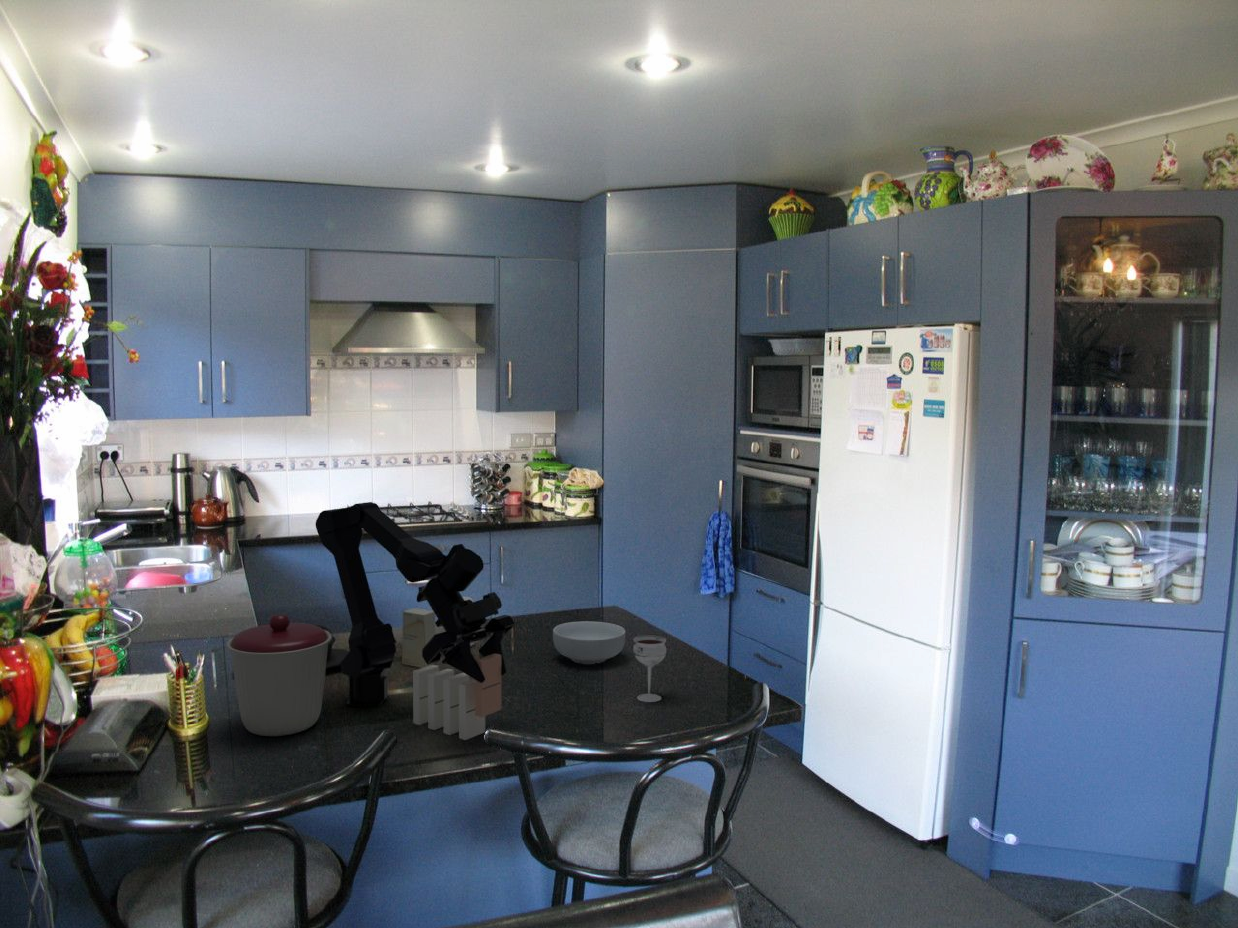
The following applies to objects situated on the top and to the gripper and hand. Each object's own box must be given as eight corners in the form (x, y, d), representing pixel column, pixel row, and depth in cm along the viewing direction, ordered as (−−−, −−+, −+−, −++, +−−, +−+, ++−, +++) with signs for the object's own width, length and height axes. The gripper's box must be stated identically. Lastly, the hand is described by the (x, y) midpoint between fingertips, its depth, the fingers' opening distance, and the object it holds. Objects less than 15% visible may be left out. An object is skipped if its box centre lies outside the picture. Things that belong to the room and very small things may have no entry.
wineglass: (637, 704, 189) (638, 645, 188) (628, 693, 195) (629, 636, 194) (670, 701, 191) (671, 643, 190) (659, 691, 197) (660, 634, 196)
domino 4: (459, 738, 171) (458, 683, 170) (478, 729, 175) (478, 676, 174) (465, 740, 170) (465, 685, 169) (485, 731, 174) (485, 678, 173)
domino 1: (413, 723, 178) (412, 670, 177) (433, 715, 182) (433, 664, 181) (419, 725, 177) (418, 672, 176) (439, 717, 181) (439, 666, 180)
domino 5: (475, 715, 168) (475, 659, 167) (494, 707, 172) (494, 653, 171) (481, 717, 167) (481, 661, 166) (501, 709, 171) (501, 654, 170)
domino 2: (428, 728, 175) (427, 674, 174) (448, 720, 179) (447, 668, 178) (434, 729, 174) (433, 676, 173) (454, 722, 178) (453, 670, 177)
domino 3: (443, 732, 173) (443, 679, 172) (463, 725, 177) (463, 672, 176) (449, 735, 172) (449, 680, 171) (469, 726, 176) (469, 674, 175)
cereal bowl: (624, 671, 210) (625, 640, 210) (549, 670, 211) (549, 638, 210) (625, 649, 227) (626, 620, 227) (556, 648, 228) (556, 619, 227)
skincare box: (401, 664, 214) (400, 611, 212) (414, 659, 217) (414, 606, 216) (423, 668, 211) (423, 614, 210) (436, 663, 215) (436, 610, 213)
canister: (212, 725, 175) (209, 613, 173) (305, 702, 188) (303, 597, 186) (254, 754, 162) (251, 632, 161) (351, 727, 175) (349, 614, 173)
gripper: (433, 589, 162) (480, 664, 157) (507, 571, 177) (553, 640, 172) (402, 626, 167) (446, 701, 162) (477, 606, 182) (520, 674, 177)
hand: (494, 677), depth 168 cm, fingers closed on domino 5, 5 cm apart
